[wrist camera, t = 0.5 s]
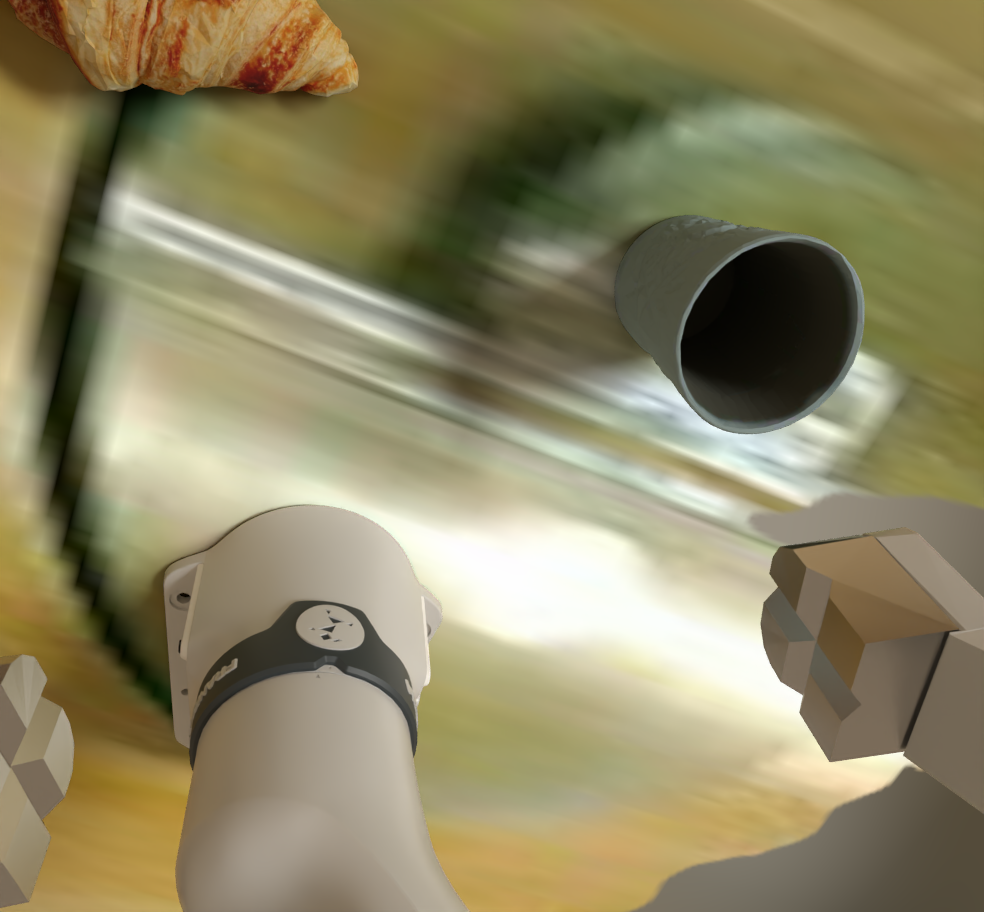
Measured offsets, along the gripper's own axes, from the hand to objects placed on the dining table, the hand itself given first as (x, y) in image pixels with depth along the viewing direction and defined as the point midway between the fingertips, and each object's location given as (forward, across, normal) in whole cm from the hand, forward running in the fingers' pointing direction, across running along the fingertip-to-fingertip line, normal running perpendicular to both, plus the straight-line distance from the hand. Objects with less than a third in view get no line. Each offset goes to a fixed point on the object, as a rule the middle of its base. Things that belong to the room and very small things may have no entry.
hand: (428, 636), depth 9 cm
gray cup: (+39, +18, -11) cm, 44 cm away
